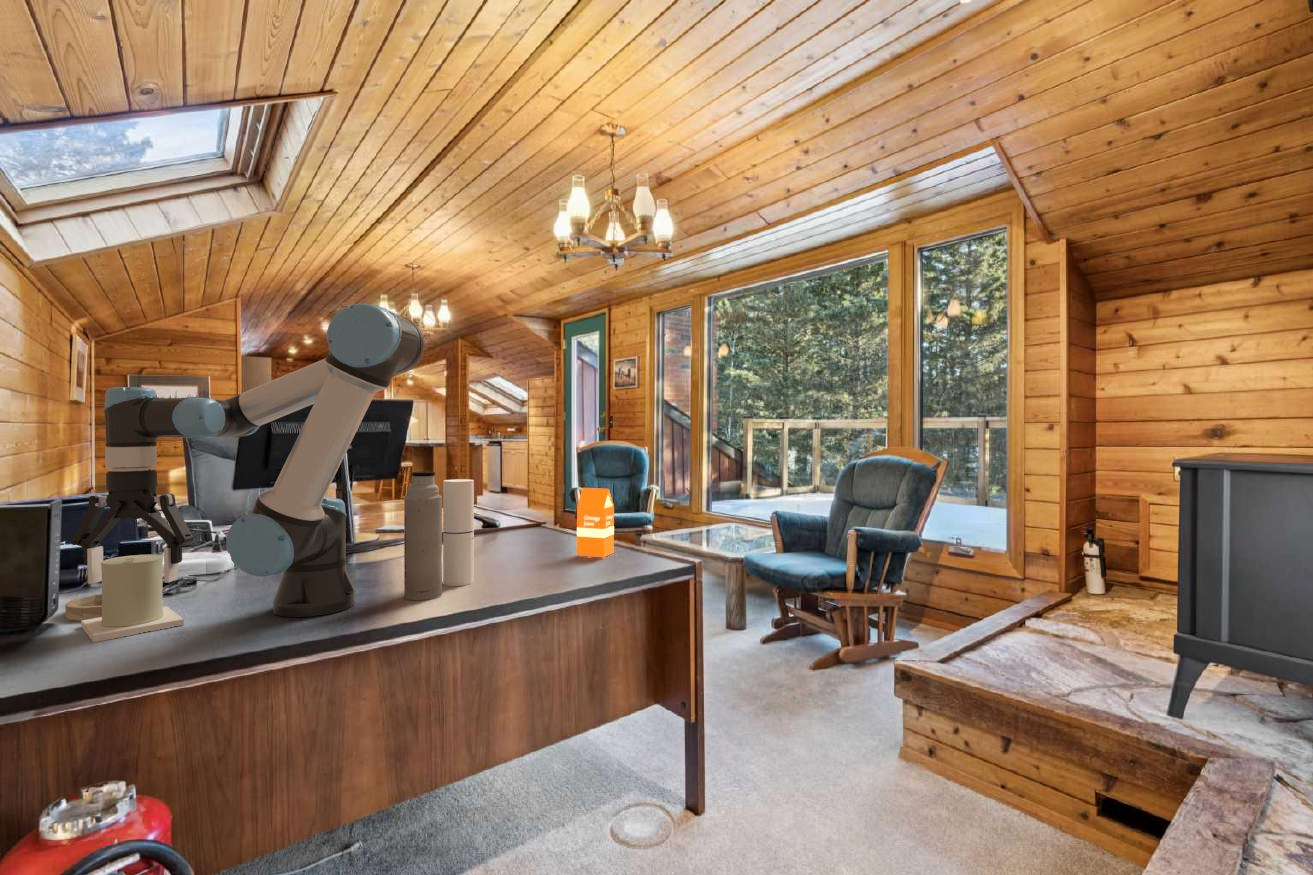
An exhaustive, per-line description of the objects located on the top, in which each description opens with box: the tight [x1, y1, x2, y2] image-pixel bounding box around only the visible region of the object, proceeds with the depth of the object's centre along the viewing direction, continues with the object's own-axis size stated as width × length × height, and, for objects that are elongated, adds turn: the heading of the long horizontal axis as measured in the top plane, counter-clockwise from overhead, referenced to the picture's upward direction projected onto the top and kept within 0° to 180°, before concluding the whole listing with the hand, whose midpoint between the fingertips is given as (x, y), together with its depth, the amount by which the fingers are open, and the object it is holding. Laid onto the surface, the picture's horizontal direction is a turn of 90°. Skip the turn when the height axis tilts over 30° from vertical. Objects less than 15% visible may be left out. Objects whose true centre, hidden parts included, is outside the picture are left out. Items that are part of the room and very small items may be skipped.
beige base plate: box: [80, 606, 185, 643], centre depth 121 cm, size 13×13×1 cm
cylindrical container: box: [442, 478, 475, 587], centre depth 156 cm, size 7×7×25 cm
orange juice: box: [576, 487, 615, 557], centre depth 191 cm, size 8×9×20 cm
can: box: [101, 553, 164, 627], centre depth 121 cm, size 9×9×12 cm
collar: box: [64, 593, 102, 622], centre depth 131 cm, size 16×13×2 cm
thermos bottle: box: [403, 470, 443, 601], centre depth 144 cm, size 8×8×28 cm
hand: (133, 581), depth 121 cm, fingers open, 13 cm apart
